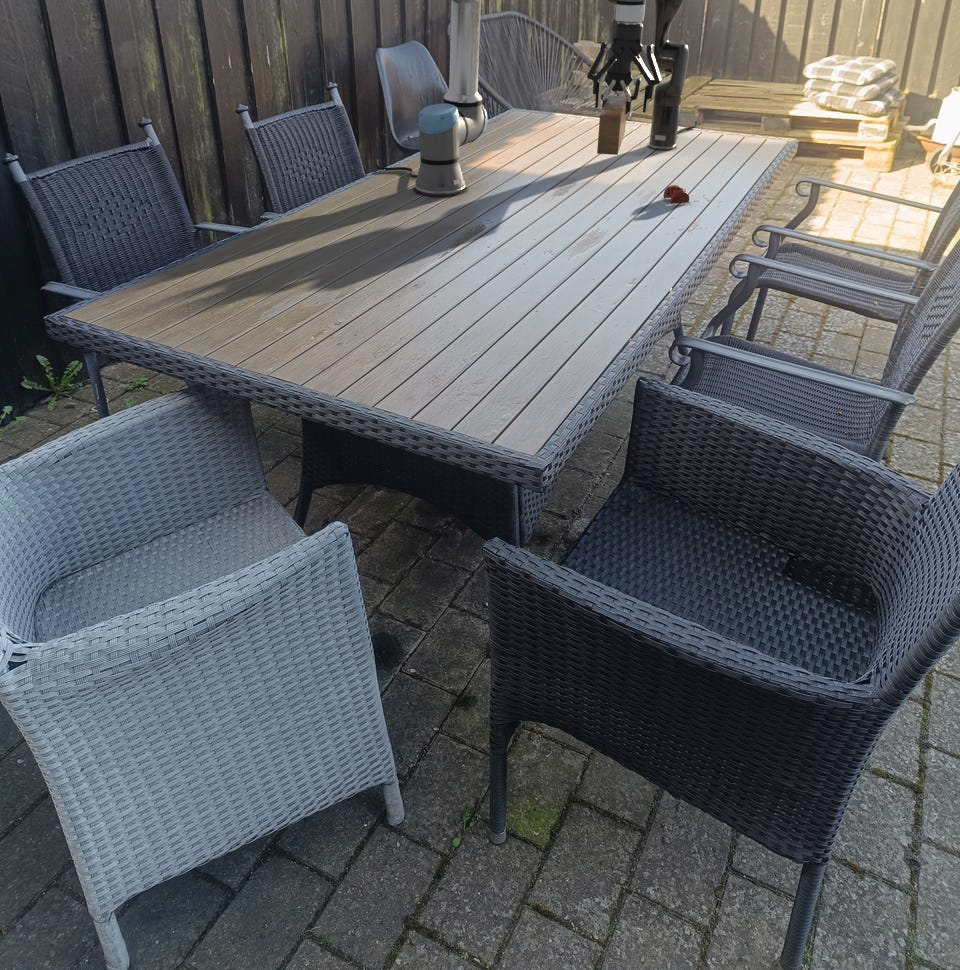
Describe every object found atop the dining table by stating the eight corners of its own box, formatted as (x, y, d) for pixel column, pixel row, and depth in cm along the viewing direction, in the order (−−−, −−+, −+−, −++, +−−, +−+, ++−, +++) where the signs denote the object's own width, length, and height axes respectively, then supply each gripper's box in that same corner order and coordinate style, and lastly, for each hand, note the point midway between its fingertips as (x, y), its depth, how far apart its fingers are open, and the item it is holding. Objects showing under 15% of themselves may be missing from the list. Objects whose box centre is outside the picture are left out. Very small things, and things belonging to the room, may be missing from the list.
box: (617, 154, 252) (621, 116, 246) (597, 153, 253) (599, 115, 247) (624, 132, 274) (628, 96, 267) (605, 131, 275) (608, 95, 268)
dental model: (680, 181, 250) (692, 189, 244) (678, 195, 253) (690, 203, 247) (662, 183, 249) (674, 191, 243) (661, 197, 252) (672, 206, 246)
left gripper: (679, 23, 219) (668, 110, 232) (588, 18, 227) (582, 102, 240) (672, 27, 214) (662, 116, 226) (579, 21, 222) (574, 108, 234)
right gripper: (645, 53, 259) (639, 111, 269) (598, 52, 261) (594, 109, 271) (643, 57, 253) (637, 117, 263) (595, 56, 255) (591, 115, 265)
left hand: (621, 109), depth 233 cm, fingers open, 13 cm apart
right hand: (615, 113), depth 267 cm, fingers closed on box, 6 cm apart
